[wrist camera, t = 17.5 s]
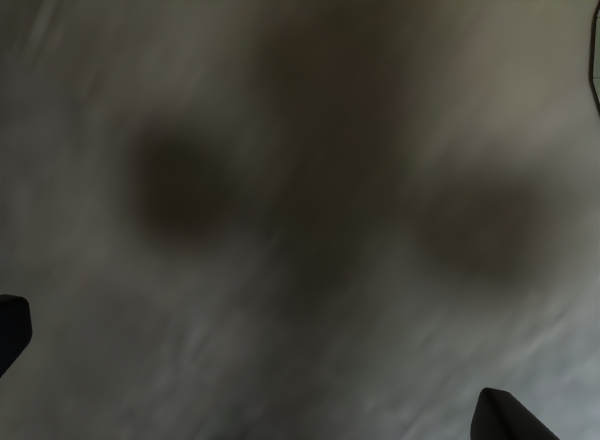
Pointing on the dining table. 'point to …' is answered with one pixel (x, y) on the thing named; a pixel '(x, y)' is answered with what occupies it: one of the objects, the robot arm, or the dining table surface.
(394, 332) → the dining table surface
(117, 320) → the dining table surface
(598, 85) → the bowl
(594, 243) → the dining table surface
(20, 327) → the robot arm
